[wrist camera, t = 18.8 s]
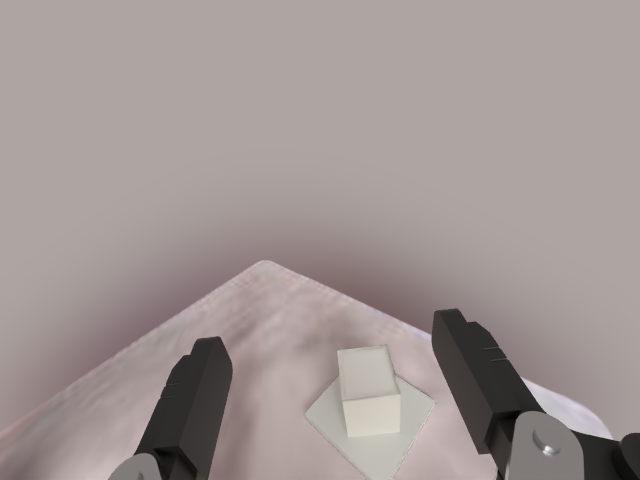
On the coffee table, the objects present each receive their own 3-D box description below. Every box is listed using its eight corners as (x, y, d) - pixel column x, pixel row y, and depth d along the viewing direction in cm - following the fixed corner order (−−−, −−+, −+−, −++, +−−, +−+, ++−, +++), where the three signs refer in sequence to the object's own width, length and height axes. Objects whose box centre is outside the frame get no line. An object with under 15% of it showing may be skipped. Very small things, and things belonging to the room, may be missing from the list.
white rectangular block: (348, 437, 35) (342, 399, 30) (342, 387, 40) (337, 350, 36) (399, 431, 34) (400, 393, 30) (387, 383, 40) (386, 344, 36)
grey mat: (305, 418, 38) (303, 414, 38) (359, 356, 45) (359, 351, 44) (383, 494, 30) (383, 490, 30) (434, 405, 37) (435, 401, 37)
